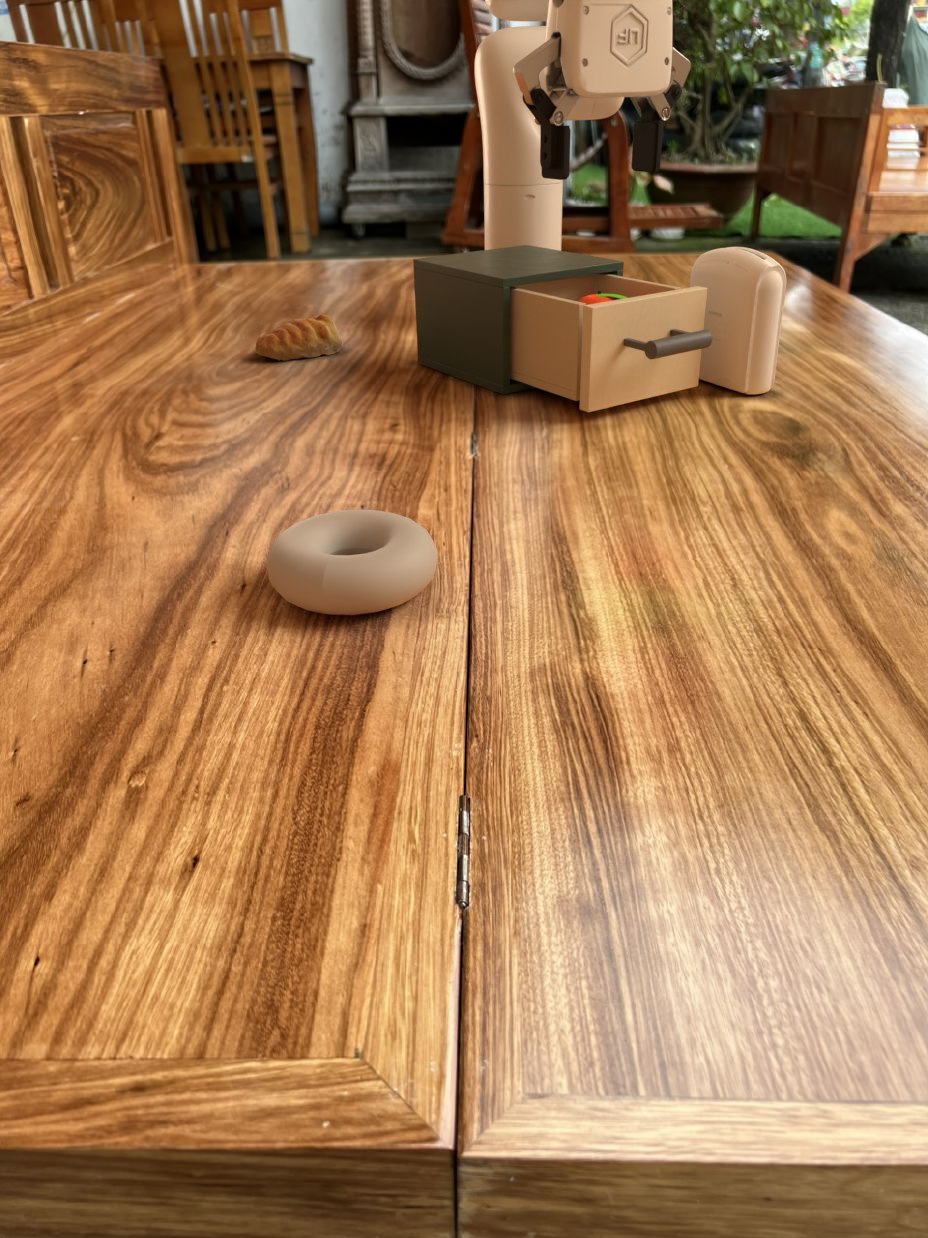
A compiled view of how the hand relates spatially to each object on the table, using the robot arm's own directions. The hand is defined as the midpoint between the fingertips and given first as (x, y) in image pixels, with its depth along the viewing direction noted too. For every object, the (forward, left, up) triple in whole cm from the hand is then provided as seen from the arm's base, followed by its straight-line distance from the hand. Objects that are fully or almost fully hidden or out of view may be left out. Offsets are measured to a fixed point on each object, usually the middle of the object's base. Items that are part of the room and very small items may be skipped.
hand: (601, 174), depth 83 cm
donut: (+38, +23, -19) cm, 48 cm away
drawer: (0, +2, -18) cm, 18 cm away
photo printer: (-12, +6, -19) cm, 23 cm away
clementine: (0, +1, -17) cm, 17 cm away
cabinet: (0, -12, -19) cm, 22 cm away
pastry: (+15, -32, -19) cm, 40 cm away
